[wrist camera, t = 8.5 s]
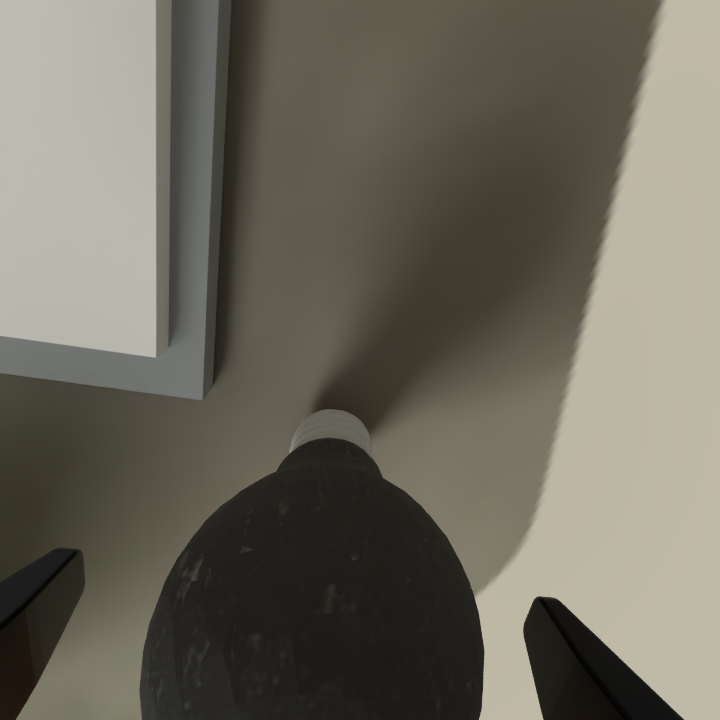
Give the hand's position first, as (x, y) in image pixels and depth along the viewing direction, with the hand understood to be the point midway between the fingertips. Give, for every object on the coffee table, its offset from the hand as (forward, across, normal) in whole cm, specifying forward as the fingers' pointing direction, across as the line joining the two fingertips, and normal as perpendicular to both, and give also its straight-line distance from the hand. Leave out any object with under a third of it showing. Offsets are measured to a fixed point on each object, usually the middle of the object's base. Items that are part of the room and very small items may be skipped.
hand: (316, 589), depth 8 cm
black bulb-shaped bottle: (+6, 0, 0) cm, 6 cm away
